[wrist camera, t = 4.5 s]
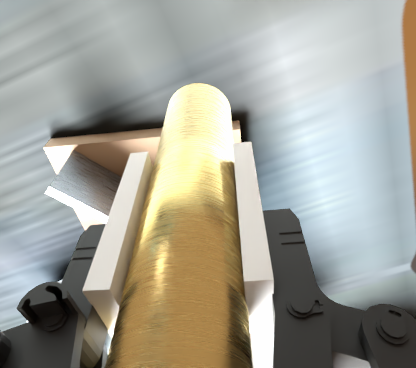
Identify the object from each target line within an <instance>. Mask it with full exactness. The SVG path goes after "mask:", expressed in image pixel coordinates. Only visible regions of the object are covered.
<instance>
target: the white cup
mask: <svg viewBox="0 0 416 368" xmlns="http://www.w3.org/2000/svg"><path fill="white" fill-rule="evenodd" d="M250 339H251V350H252V362H253V368H273V350H274V331H273V332H265V333H250Z"/></svg>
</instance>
